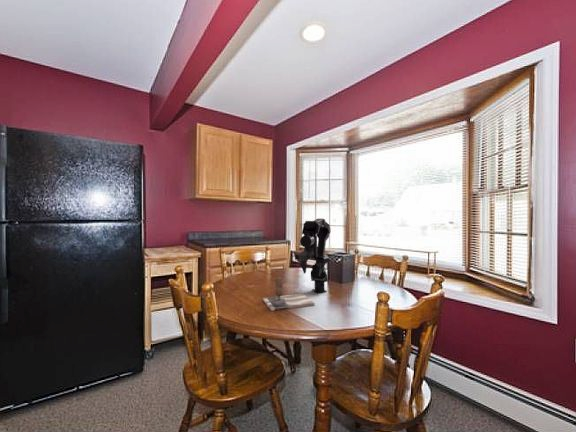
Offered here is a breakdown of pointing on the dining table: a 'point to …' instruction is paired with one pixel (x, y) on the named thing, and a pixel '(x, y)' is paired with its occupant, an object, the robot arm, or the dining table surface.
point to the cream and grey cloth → (289, 302)
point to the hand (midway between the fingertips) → (311, 274)
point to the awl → (279, 292)
